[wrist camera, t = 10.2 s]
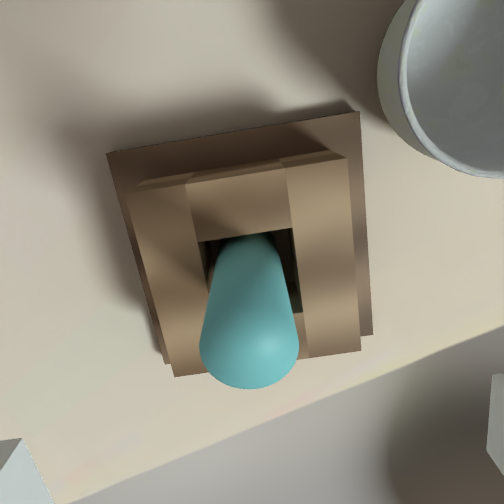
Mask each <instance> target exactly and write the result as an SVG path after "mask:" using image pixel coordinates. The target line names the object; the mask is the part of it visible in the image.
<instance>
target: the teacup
mask: <svg viewBox="0 0 504 504" xmlns="http://www.w3.org/2000/svg"><path fill="white" fill-rule="evenodd" d="M377 88H378V94H379V99H380V103H381V106H382V109H383V112H384V114H385V116H386V118H387V120H388V122H389V123H390V125H391V127H392V128H393V129H394V131H395V132H396V133H397V134H398V135H399V136H400V137H401V138H402V139H403V140H404V141H405V142H406V143H407V144H408V145H410V146H411V147H413V148H414V149H416V150H417V151H419V152H421V153H423V154H424V155H427V156H429V157H431V158H433V159H436V160H438V161H440V162H442V163H444V164H446V165H447V166H449V167H451V168H453V169H455V170H457V171H459V172H463V173H466V174H469V175H473V176H478V177H486V178H496V179H504V0H405V1H404V3H403V4H402V5H401V7H400V8H399V9H398V11H397V13H396V14H395V16H394V18H393V20H392V22H391V24H390V26H389V28H388V30H387V32H386V35H385V37H384V40H383V43H382V46H381V49H380V54H379V59H378V67H377Z"/></svg>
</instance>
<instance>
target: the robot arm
mask: <svg viewBox="0 0 504 504" xmlns="http://www.w3.org/2000/svg"><path fill="white" fill-rule="evenodd" d="M487 452H488V453H489V455H490V456H491V458H492V459H493V461H494V462H495V464H496V465H497V467H498V468H499V469H500V471H501V472H502V474H503V475H504V373H501V374H493V375H492V387H491V399H490V412H489V425H488V438H487ZM0 504H54V502H53V499H52V497H51V495H50V493H49V491H48V489H47V487H46V485H45V483H44V481H43V479H42V477H41V475H40V473H39V471H38V469H37V467H36V465H35V462H34V460H33V458H32V456H31V454H30V452H29V450H28V448H27V446H26V444H25V442H24V440H23V438H18V439H11V440H3V441H0Z"/></svg>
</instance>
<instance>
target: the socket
mask: <svg viewBox="0 0 504 504" xmlns="http://www.w3.org/2000/svg"><path fill="white" fill-rule="evenodd" d="M106 156H107V159H108V163H109V166H110V170H111V173H112V177H113V181H114V184H115V188H116V191H117V195H118V198H119V202H120V206H121V209H122V213H123V216H124V220H125V224H126V227H127V231H128V234H129V238H130V241H131V245H132V249H133V252H134V256H135V259H136V263H137V266H138V270H139V274H140V277H141V281H142V284H143V288H144V292H145V295H146V299H147V302H148V306H149V309H150V313H151V317H152V320H153V324H154V327H155V331H156V334H157V338H158V342H159V345H160V349H161V352H162V356H163V360H164V363H165V364H171V366H172V370H173V374H174V377H179V376H186V375H193V374H200V373H207V372H209V371H208V370H207V369H206V367H205V366H204V364H203V362H202V359H201V356H200V351H199V342H200V336H201V331H202V326H203V321H204V317H205V312H206V307H207V302H208V298H209V293H210V288H211V283H212V278H213V274H214V269H215V264H216V259H217V254H218V250H219V245H220V241H221V239H222V238H228V237H235V236H241V235H248V234H254V233H261V232H267V231H270V232H271V233H272V234H273V236H274V238H275V240H276V243H277V248H278V252H279V257H280V261H281V265H282V270H283V274H284V278H285V283H286V287H287V291H288V296H289V300H290V304H291V309H292V313H293V318H294V322H295V326H296V331H297V335H298V340H299V352H298V356H297V359H296V360H299V359H306V358H313V357H320V356H327V355H334V354H341V353H348V352H355V351H361V339H360V336H367V335H373V325H372V308H371V292H370V275H369V258H368V242H367V225H366V209H365V192H364V175H363V159H362V142H361V126H360V111H354V112H348V113H342V114H336V115H330V116H324V117H318V118H312V119H306V120H300V121H294V122H288V123H282V124H276V125H270V126H264V127H258V128H252V129H246V130H240V131H234V132H228V133H222V134H216V135H210V136H204V137H198V138H192V139H186V140H180V141H174V142H168V143H162V144H156V145H150V146H144V147H138V148H132V149H126V150H120V151H114V152H110V153H106Z"/></svg>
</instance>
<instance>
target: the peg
mask: <svg viewBox="0 0 504 504" xmlns="http://www.w3.org/2000/svg"><path fill="white" fill-rule="evenodd" d="M199 351H200V356H201V359H202V362H203V364H204V366H205V367H206V369H207V370H208V371H209V372H210V374H211V375H212V376H214V377H215V378H216V379H217V380H219V381H220V382H222V383H224V384H226V385H229V386H231V387H235V388H240V389H258V388H263V387H266V386H269V385H271V384H274V383H276V382H277V381H279V380H280V379H282V378H283V377H284V376H285V375H286V374H287V373H288V372H289V371H290V370H291V369H292V367H293V365H294V364H295V362H296V359H297V356H298V352H299V340H298V335H297V331H296V326H295V322H294V318H293V313H292V309H291V304H290V300H289V296H288V291H287V287H286V283H285V278H284V274H283V270H282V265H281V261H280V257H279V252H278V248H277V243H276V240H275V238H274V236H273V234H272V233H271V232H270V231H267V232H261V233H254V234H248V235H241V236H235V237H228V238H222V239H221V241H220V245H219V250H218V254H217V259H216V264H215V269H214V274H213V278H212V283H211V288H210V293H209V298H208V302H207V307H206V312H205V317H204V321H203V326H202V331H201V336H200V342H199Z"/></svg>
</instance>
